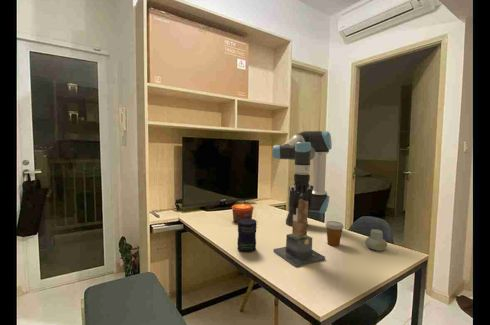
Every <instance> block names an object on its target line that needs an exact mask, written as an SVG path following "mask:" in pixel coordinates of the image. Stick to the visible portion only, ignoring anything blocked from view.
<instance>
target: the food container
mask: <svg viewBox="0 0 490 325" xmlns="http://www.w3.org/2000/svg"><path fill="white" fill-rule="evenodd" d="M231 209H232V210H231V211H232V219H233V222H234V223H236V224H238V220H240V219H245V218H248V219H253V214H254V212H253V211H254V209H255V208H254V206H253V205H251V204H248V203H247V204H246V203H239V204H238V203H237V204H233V205H232V206H231Z"/></svg>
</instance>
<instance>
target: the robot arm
mask: <svg viewBox="0 0 490 325" xmlns="http://www.w3.org/2000/svg"><path fill="white" fill-rule="evenodd" d="M332 145H333V143H332V136H331V133H330V132H329V131H326V130H317V131H316V130H314V131H313V130H306V131H304V130H303V131H300V132H298V133H295V134H294V135H292V136H291V137H290V139H289V140H288V141H286V142H284V143H283V144H281V145H280V144H277V145H276V144H275V145H274V146H273V147H272V151H271V155H272V158H273V159H275V160H290V161H294V166H293V167H294V170H293V172H294V175H293V181H294V183H293V185H292V186H289V187H288V190H289V195H288V213H287V215H286V219H285V225H287V226H288V227H289V226H290V227H293V220H294V221H296V222H298V208H297V205H298V201H299V199H302V200H305V201H308V212H316V213H323V214H325V213H326V212H327V210H328V208H329V203H330V196H329V195H328V192H327V191H326V176H327V175H326V172H327V171H326V170H327V155H328V154H329V152H330V150H332ZM311 160H312V164H311ZM311 165H312V166H311ZM311 167H312V168H311ZM310 173H311V176H310ZM310 177H311V178H310ZM310 180H311V185H310ZM308 222H309V221H308V220H307V226H308V225H309V224H308Z"/></svg>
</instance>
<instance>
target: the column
mask: <svg viewBox="0 0 490 325" xmlns="http://www.w3.org/2000/svg"><path fill="white" fill-rule="evenodd" d="M297 208H298V222H296V221H294V220H293V226H292V229H291V230H292V231H291V234H292V236H293V237H295V238H297V239H302V238H307V236H308V234H307V233H308V225H307V221H308V216H309V215H308V213H309V211H308V201H305V200H302V199H299V201H298V205H297Z"/></svg>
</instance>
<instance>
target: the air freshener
mask: <svg viewBox="0 0 490 325" xmlns="http://www.w3.org/2000/svg"><path fill="white" fill-rule="evenodd" d="M383 237H384V232H383V231H382V230H381V229H376V228H372V229H371V230H370V236H368V237H367V238H366V239H365V240H364V243H365V245H366V247H367V248H369V249H371V250H373V251H377V252H380V251H384V250H386V249H387V247H388V242H387V241H386V240H385V239H384V238H383Z"/></svg>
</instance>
